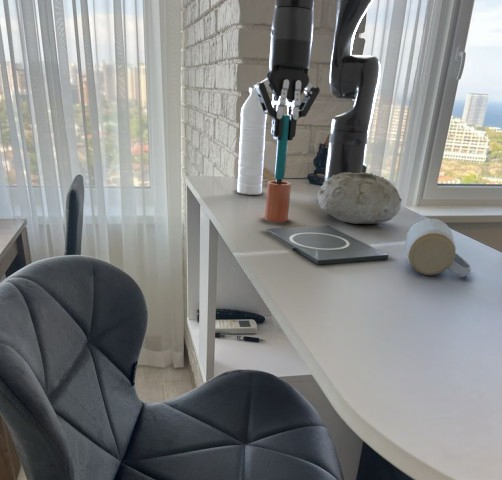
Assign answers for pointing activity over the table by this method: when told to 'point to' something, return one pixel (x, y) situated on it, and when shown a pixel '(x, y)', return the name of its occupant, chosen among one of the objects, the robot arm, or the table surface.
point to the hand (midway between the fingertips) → (282, 139)
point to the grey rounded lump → (359, 198)
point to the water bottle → (251, 146)
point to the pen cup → (277, 201)
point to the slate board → (327, 245)
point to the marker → (282, 150)
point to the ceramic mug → (433, 249)
